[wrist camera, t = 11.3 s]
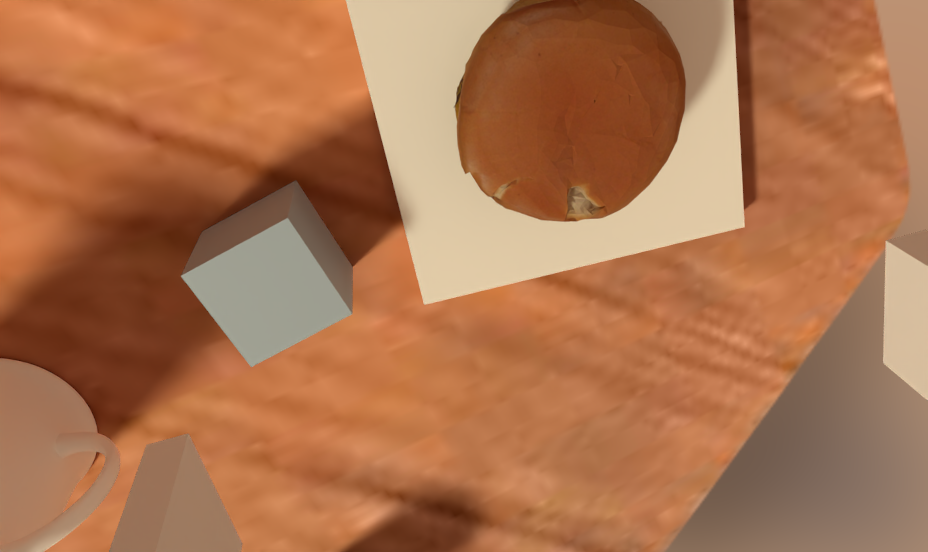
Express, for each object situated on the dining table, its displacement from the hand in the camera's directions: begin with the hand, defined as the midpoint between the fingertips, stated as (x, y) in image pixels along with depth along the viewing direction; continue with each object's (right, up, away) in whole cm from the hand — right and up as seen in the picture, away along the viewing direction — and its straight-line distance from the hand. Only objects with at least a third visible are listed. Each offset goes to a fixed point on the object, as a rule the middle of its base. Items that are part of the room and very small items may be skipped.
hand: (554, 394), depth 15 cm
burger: (+2, +10, +20) cm, 22 cm away
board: (+2, +10, +21) cm, 23 cm away
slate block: (-10, +3, +22) cm, 25 cm away
